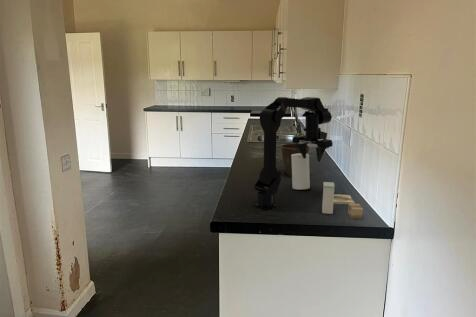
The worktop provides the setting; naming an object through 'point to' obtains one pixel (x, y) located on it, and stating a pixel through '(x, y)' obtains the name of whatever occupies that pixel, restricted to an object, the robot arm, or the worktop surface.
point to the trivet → (343, 199)
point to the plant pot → (287, 152)
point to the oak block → (355, 211)
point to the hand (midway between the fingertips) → (311, 159)
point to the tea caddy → (328, 197)
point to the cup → (300, 172)
